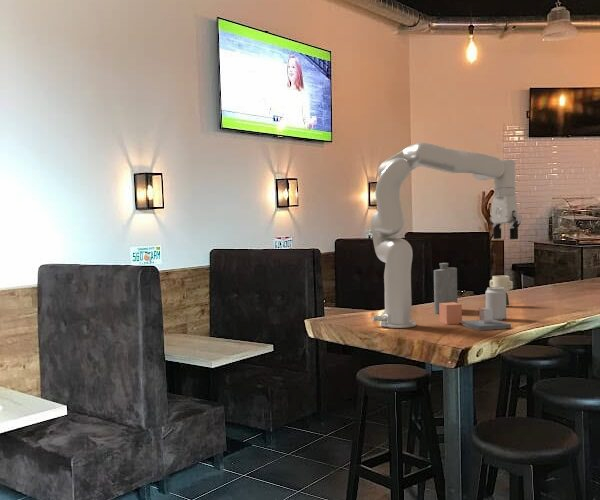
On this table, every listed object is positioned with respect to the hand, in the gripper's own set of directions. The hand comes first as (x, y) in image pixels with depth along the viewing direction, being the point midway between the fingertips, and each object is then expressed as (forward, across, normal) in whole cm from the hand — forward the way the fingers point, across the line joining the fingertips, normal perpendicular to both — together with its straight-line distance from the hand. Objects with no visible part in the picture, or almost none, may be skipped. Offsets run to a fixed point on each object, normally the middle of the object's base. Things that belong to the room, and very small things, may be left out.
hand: (505, 238), depth 241 cm
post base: (+30, +12, -18) cm, 37 cm away
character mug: (+30, -28, +19) cm, 45 cm away
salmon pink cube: (+30, -2, -23) cm, 38 cm away
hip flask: (+30, -27, -9) cm, 42 cm away
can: (+30, -1, -4) cm, 31 cm away
